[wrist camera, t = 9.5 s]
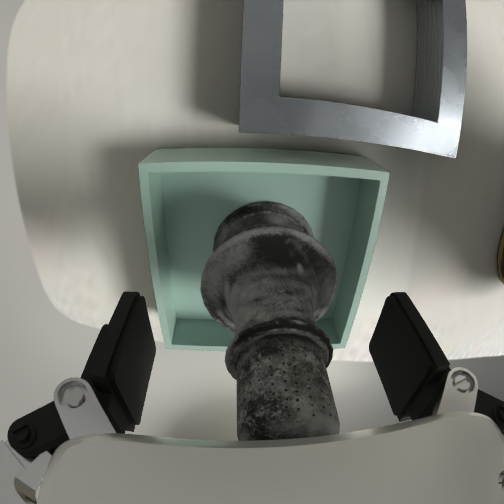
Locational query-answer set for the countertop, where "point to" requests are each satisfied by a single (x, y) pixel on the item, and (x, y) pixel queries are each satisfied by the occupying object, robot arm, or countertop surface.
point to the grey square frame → (353, 116)
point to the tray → (243, 193)
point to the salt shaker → (274, 320)
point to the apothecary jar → (501, 259)
